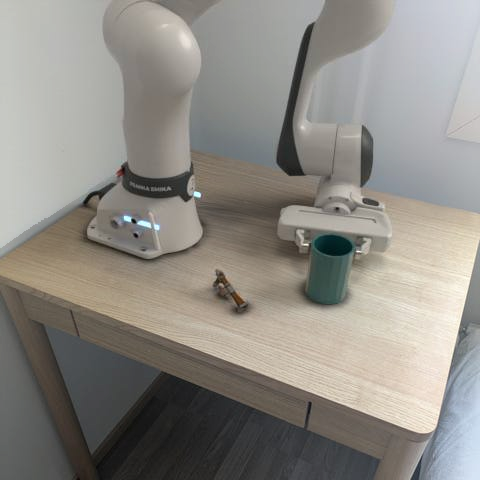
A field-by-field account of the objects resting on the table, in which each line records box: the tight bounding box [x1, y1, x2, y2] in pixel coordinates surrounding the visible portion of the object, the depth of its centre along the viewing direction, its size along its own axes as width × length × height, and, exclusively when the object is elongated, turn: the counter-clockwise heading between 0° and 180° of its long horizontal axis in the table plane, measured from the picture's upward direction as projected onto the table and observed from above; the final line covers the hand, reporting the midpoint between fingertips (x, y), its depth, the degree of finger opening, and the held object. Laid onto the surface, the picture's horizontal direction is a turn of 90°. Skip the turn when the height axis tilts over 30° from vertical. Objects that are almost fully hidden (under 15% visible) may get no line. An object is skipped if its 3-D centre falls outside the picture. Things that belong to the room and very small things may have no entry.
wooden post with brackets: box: [212, 268, 250, 313], centre depth 81 cm, size 2×8×4 cm, turn 40°
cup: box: [304, 233, 355, 305], centre depth 81 cm, size 7×7×10 cm
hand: (331, 253), depth 84 cm, fingers open, 8 cm apart
